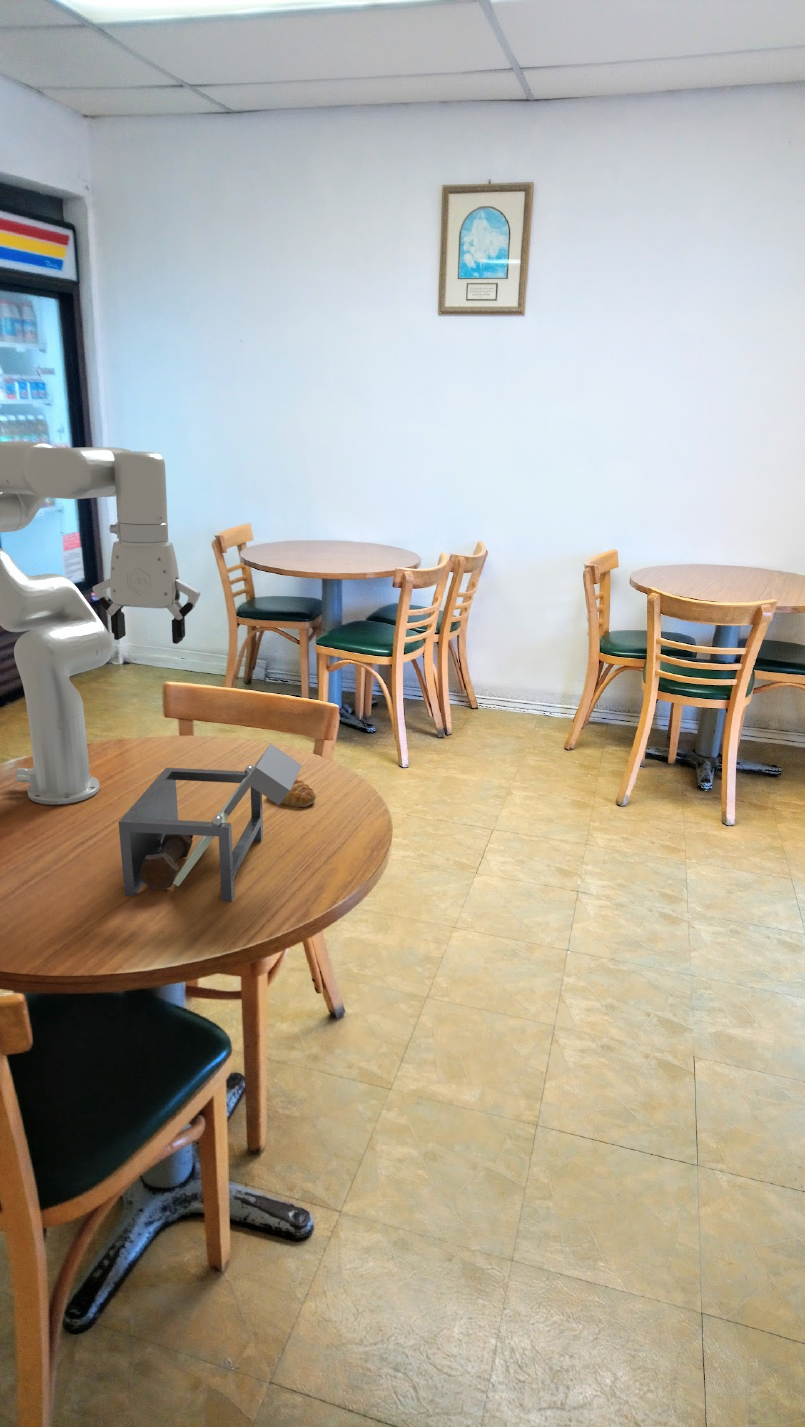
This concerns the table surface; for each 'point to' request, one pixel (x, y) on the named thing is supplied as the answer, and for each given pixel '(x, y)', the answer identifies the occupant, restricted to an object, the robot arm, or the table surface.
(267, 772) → the trapdoor
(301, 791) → the pastry
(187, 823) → the frame
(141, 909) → the table surface
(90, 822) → the table surface
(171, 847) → the bolt
